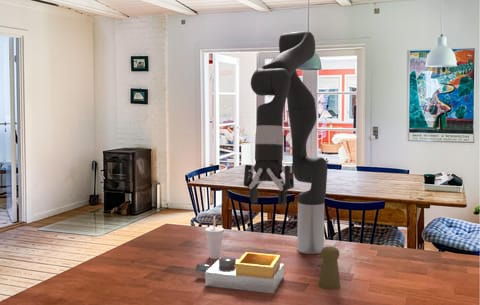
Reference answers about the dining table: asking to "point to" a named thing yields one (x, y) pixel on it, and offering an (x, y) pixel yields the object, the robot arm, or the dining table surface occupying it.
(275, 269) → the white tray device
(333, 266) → the cork
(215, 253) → the smoothie
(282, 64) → the robot arm
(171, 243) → the dining table surface
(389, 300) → the dining table surface
